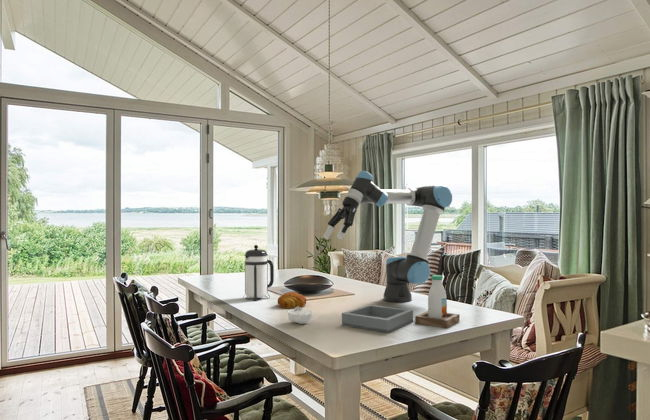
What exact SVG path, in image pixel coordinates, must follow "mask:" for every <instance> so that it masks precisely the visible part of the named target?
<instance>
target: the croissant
mask: <svg viewBox="0 0 650 420" xmlns="http://www.w3.org/2000/svg"><path fill="white" fill-rule="evenodd" d="M277 304H278V307H280V308H282V309H295V308H296V307H301V308H304V307H305V305H306V304H307V298H306V297H305V296H304V295H303V294H301V293H298V292H296V291H289V292H285V293H283V294H282V295H280V296H279V297H278V298H277Z"/></svg>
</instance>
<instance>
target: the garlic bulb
mask: <svg viewBox="0 0 650 420" xmlns="http://www.w3.org/2000/svg"><path fill="white" fill-rule="evenodd" d="M286 312H287V315H288V320H289V321H291V322H292V323H295V324H299V325H301V324H302V325H303V324H307V323H309V322H310V321H311V319H312V317H313V311H312V310H309V309H305V308H302V307H296V308H293V309H290V310H288V311H286Z"/></svg>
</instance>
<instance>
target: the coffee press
mask: <svg viewBox="0 0 650 420" xmlns="http://www.w3.org/2000/svg"><path fill="white" fill-rule="evenodd" d="M268 265H269V269H270V271H269V270H268ZM274 271H275V270H274V263H273V261H271V260H270V259H268V252H267V251H266V250H265V249H259V246H258V245H257V244H254V246H253V249H248V250H246V251H245V254H244V296H243V297H242V299H243V298H246V299H247V298H251V299H253V301H254V300H255V301H254V302H257V301H258V299H260V298H264V297H265V298H267V299H268V298H269V299H270V298H271V296H270V295H269V288H271V287H272V286H273V284H274V282H275V279H274V277H275V276H274V274H275V273H274ZM268 272H269V275H270V277H269V278H270V280H268ZM268 282H269V283H268ZM267 295H268V296H267ZM245 296H246V297H245ZM256 300H257V301H256Z"/></svg>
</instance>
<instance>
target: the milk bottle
mask: <svg viewBox="0 0 650 420" xmlns="http://www.w3.org/2000/svg"><path fill="white" fill-rule="evenodd" d="M430 277H431V286H430V288H429V291H428V295H427V302H428V303H427V309H428V310H427V311H428V317H431V318H439V319H446V318H447V313H448V304H447V303H448V302H447V291H446V289H445V287H444V285H443V279H444V278H443V275H441V274H434V275H431V276H430Z"/></svg>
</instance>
